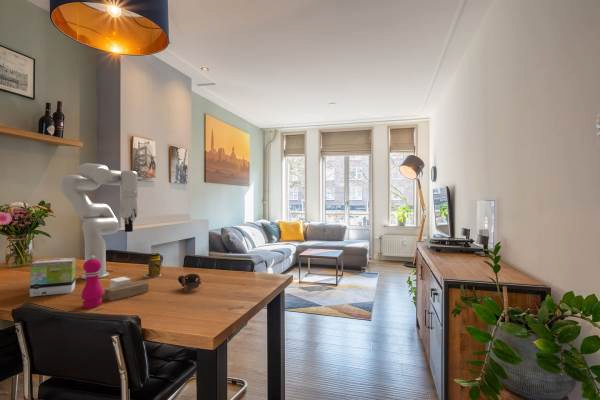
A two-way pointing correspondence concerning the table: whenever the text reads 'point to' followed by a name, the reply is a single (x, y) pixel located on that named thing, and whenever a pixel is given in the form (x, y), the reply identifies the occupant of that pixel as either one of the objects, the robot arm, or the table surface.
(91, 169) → the robot arm
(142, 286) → the board
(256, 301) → the table surface
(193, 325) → the table surface
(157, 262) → the condiment
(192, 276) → the pottery mug
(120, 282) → the block
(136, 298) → the table surface
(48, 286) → the tea box
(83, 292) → the pepper mill
